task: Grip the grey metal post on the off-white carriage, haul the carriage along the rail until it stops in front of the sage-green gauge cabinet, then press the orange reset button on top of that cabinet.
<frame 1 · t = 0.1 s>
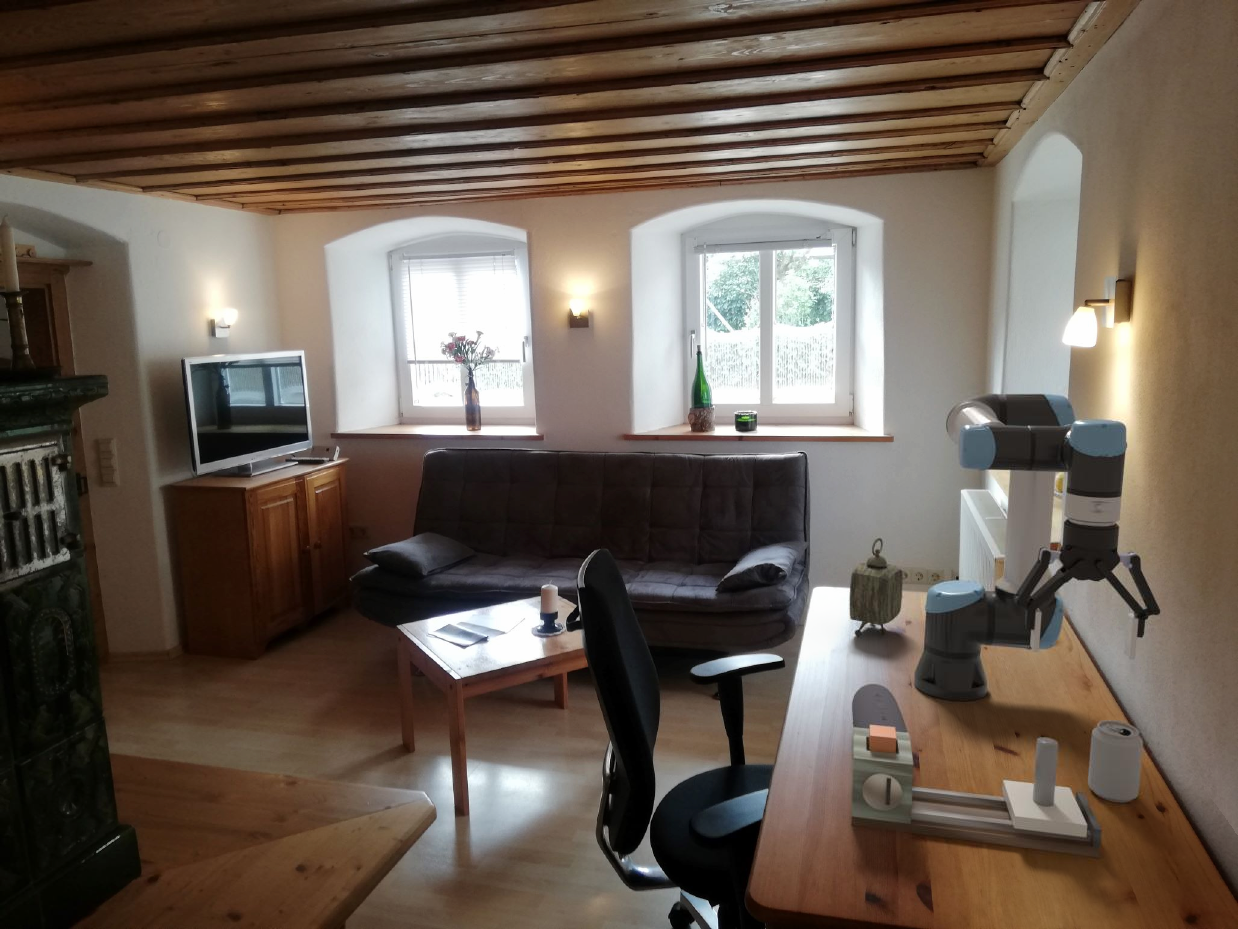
hand: (1081, 652, 137), 28 cm above the table, tool pointing down, fingers open, 13 cm apart
can: (1112, 794, 149), on the table
bluetooth speaker: (879, 757, 162), on the table
carriage: (1044, 777, 136), point 9 cm above the table, slide at 0.0 cm
rail bed: (966, 821, 141), on the table
reset button: (882, 739, 142), point 12 cm above the table, slide at 0.0 cm
tabletop clock: (875, 633, 227), on the table
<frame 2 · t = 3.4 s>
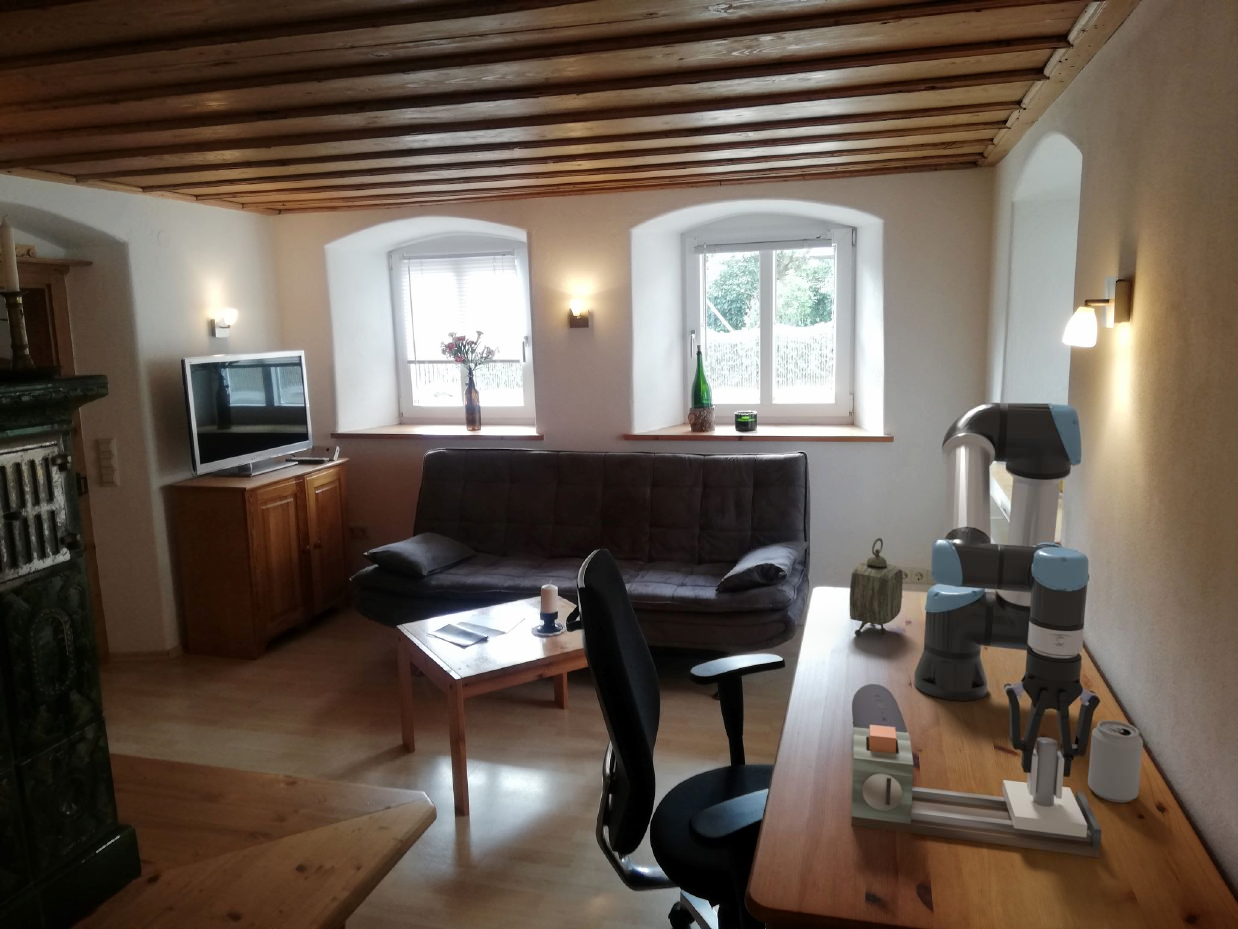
hand: (1043, 792, 137), 7 cm above the table, tool pointing down, fingers closed on carriage, 3 cm apart
carriage: (1044, 777, 136), point 9 cm above the table, slide at 0.0 cm, touching gripper
everything else where it was.
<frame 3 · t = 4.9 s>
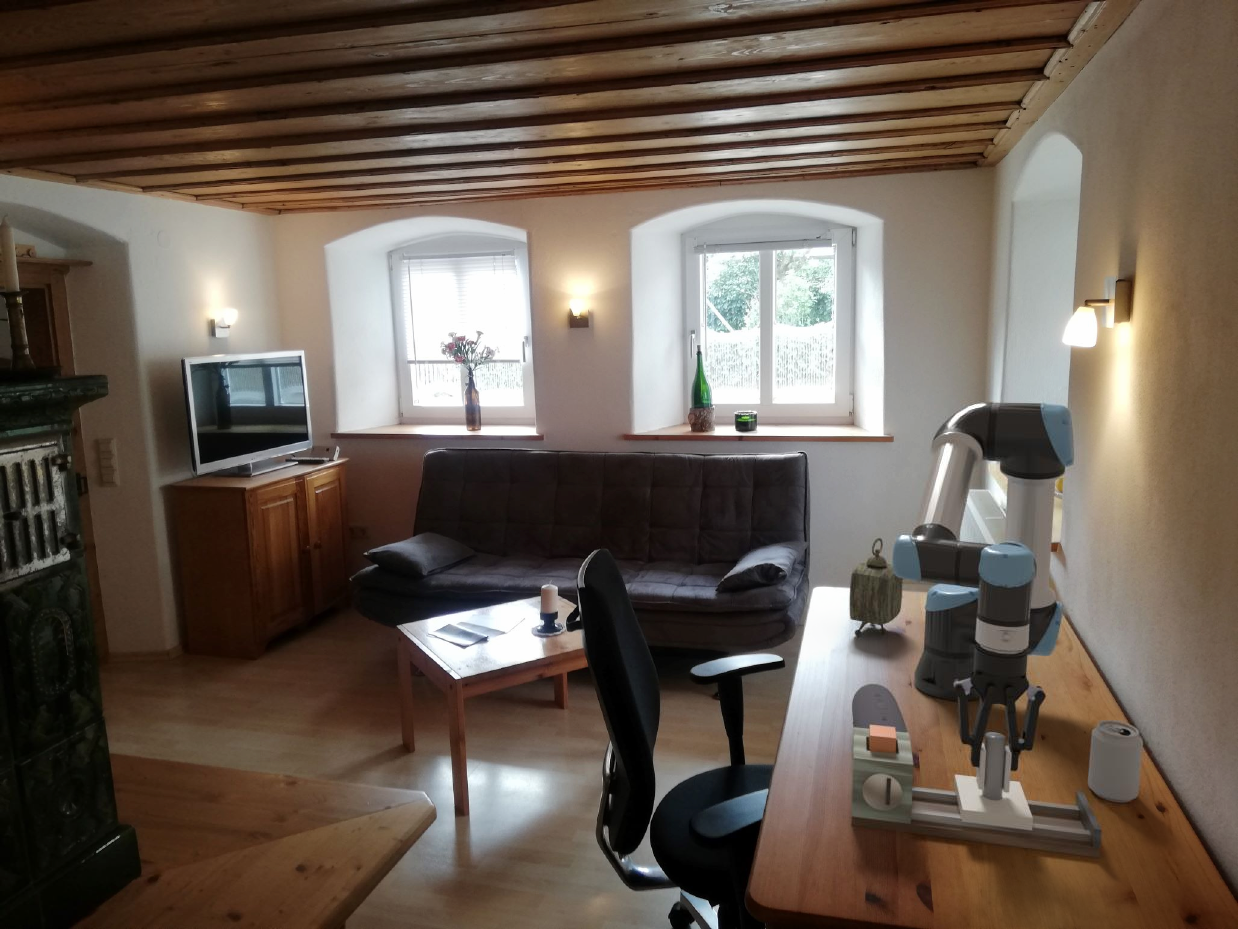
hand: (992, 786, 139), 7 cm above the table, tool pointing down, fingers closed on carriage, 3 cm apart
carriage: (993, 772, 138), point 9 cm above the table, slide at 7.5 cm, touching gripper
everything else where it was.
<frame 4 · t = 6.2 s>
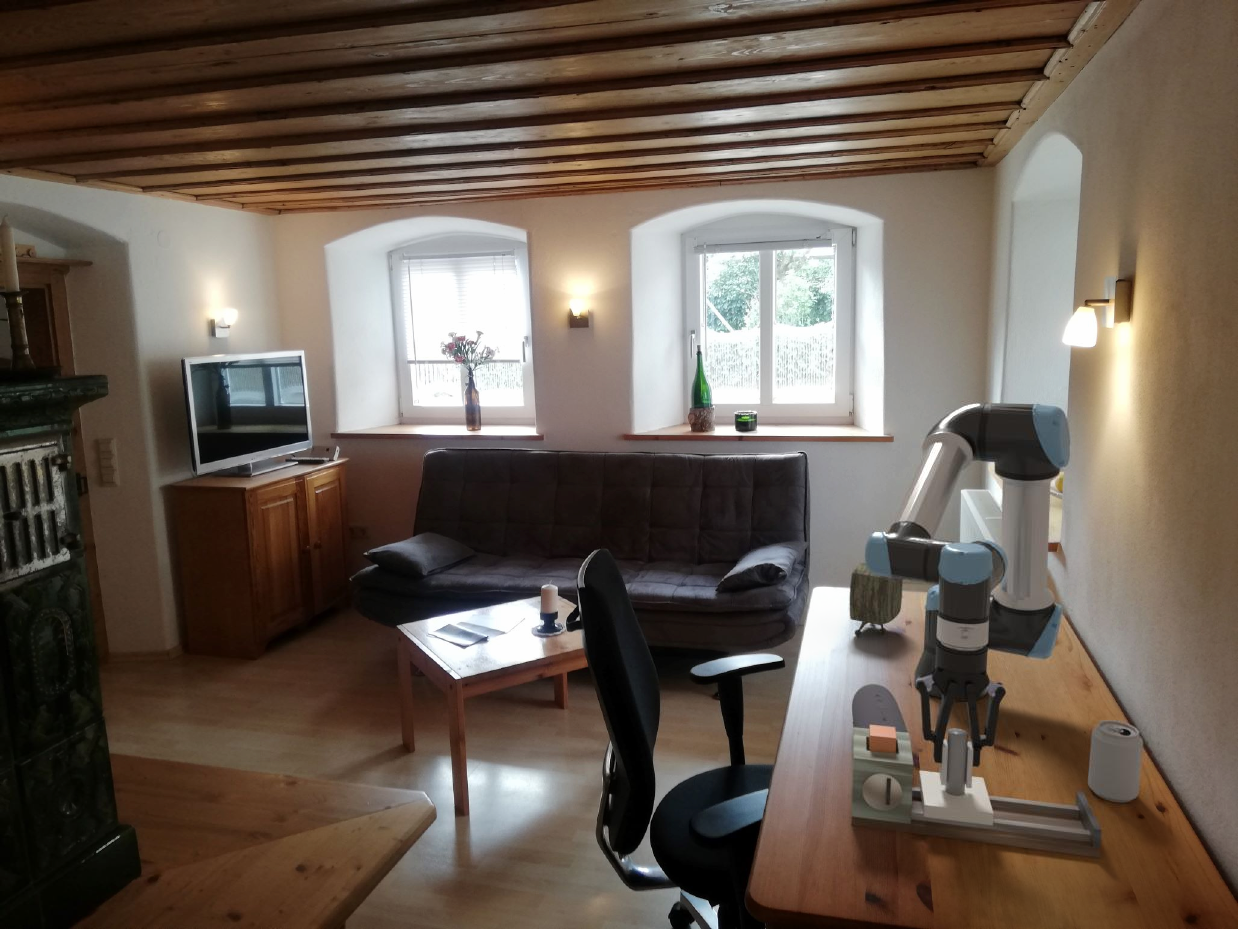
hand: (955, 782, 140), 7 cm above the table, tool pointing down, fingers closed on carriage, 3 cm apart
carriage: (956, 767, 140), point 9 cm above the table, slide at 13.1 cm, touching gripper
everything else where it was.
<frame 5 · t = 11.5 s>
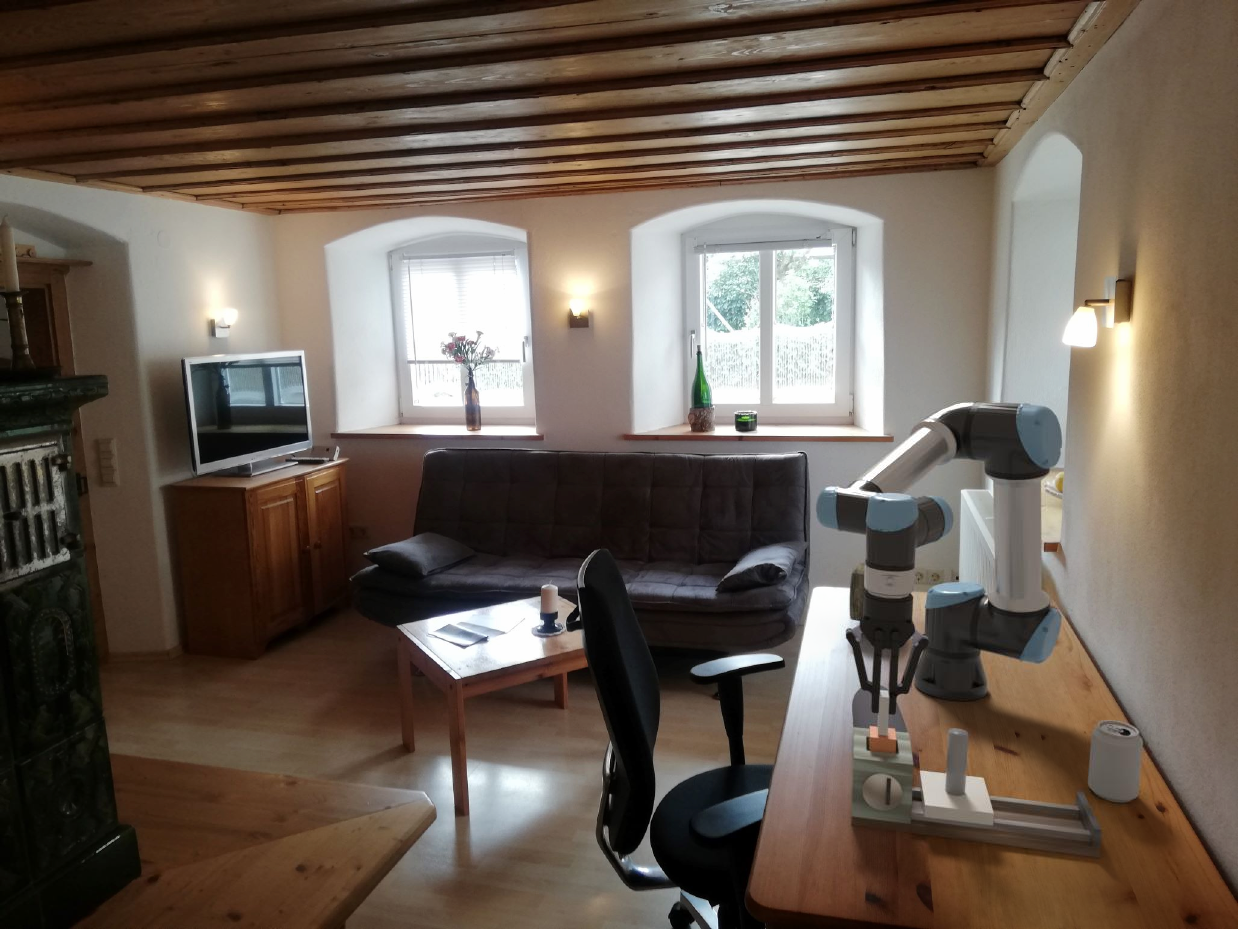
hand: (882, 731, 142), 14 cm above the table, tool pointing down, fingers closed
carriage: (956, 767, 140), point 9 cm above the table, slide at 13.0 cm
reset button: (882, 741, 142), point 12 cm above the table, slide at 0.3 cm, touching gripper
everything else where it was.
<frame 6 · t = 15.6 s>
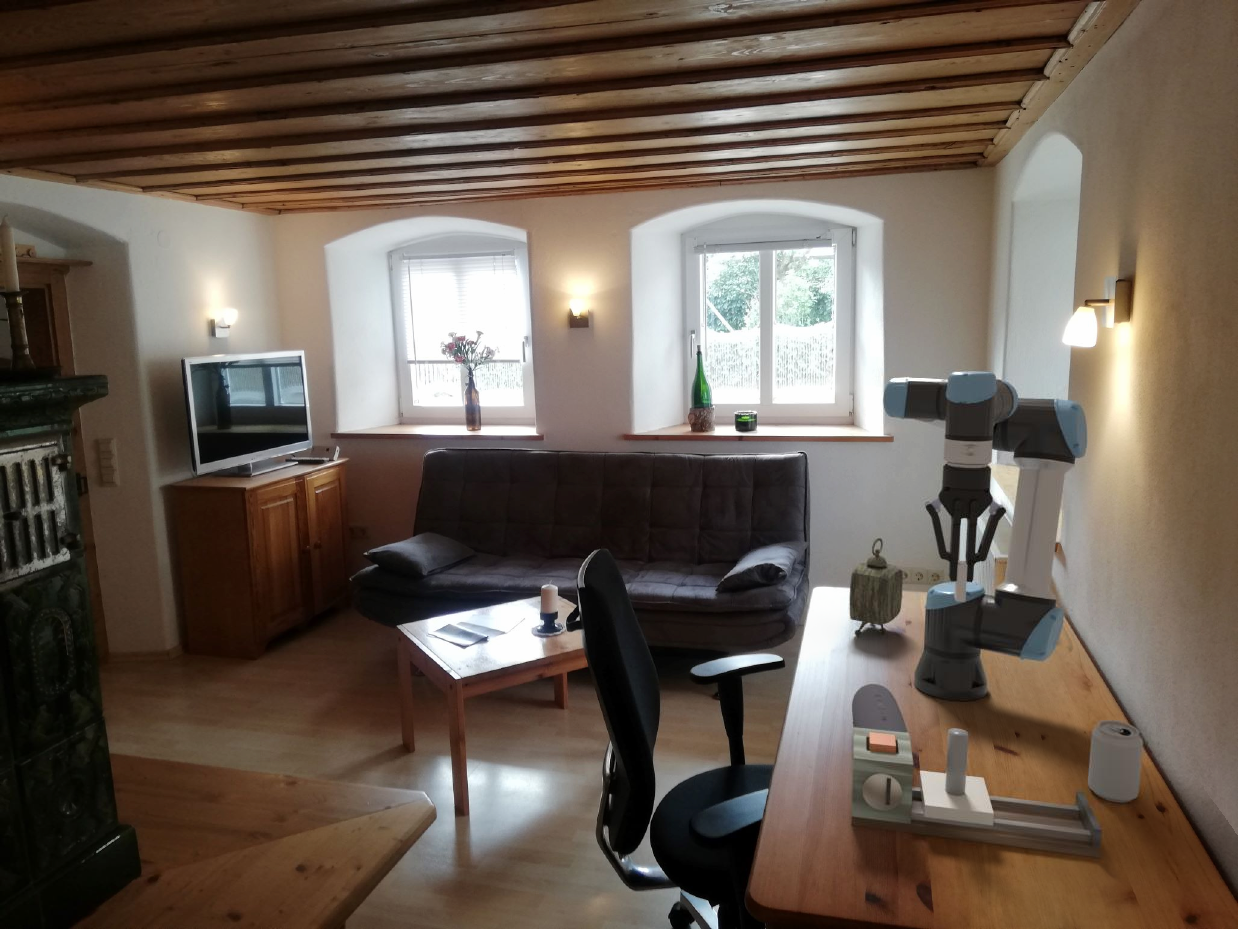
hand: (959, 599, 150), 32 cm above the table, tool pointing down, fingers closed
reset button: (882, 747, 142), point 11 cm above the table, slide at 1.3 cm
everything else where it was.
at the end: carriage slide at 13.0 cm; reset button slide at 1.3 cm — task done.
